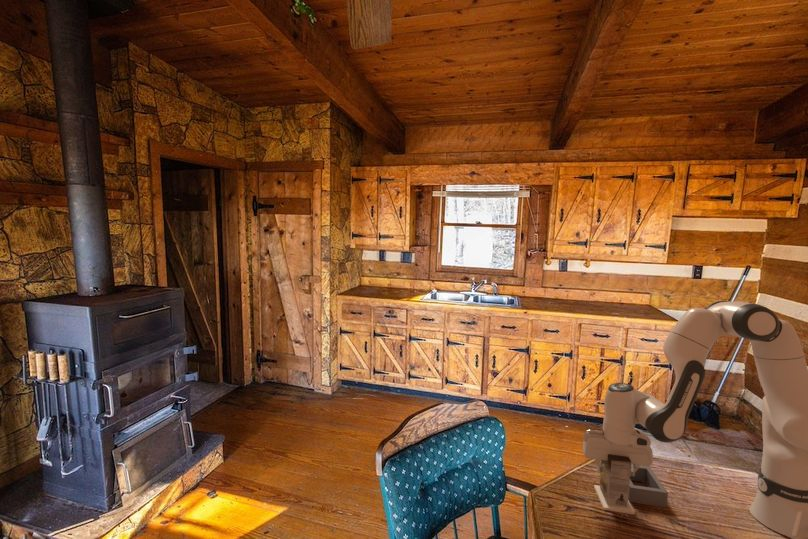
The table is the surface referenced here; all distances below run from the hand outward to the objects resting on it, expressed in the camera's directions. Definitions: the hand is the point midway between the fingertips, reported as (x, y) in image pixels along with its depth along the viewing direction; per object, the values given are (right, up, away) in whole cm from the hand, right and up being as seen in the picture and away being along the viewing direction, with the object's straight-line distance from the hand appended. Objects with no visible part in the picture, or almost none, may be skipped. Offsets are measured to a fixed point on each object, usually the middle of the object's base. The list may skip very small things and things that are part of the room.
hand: (615, 472), depth 122 cm
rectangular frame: (+12, -9, +6) cm, 16 cm away
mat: (0, -10, +1) cm, 10 cm away
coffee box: (0, -9, +1) cm, 9 cm away
